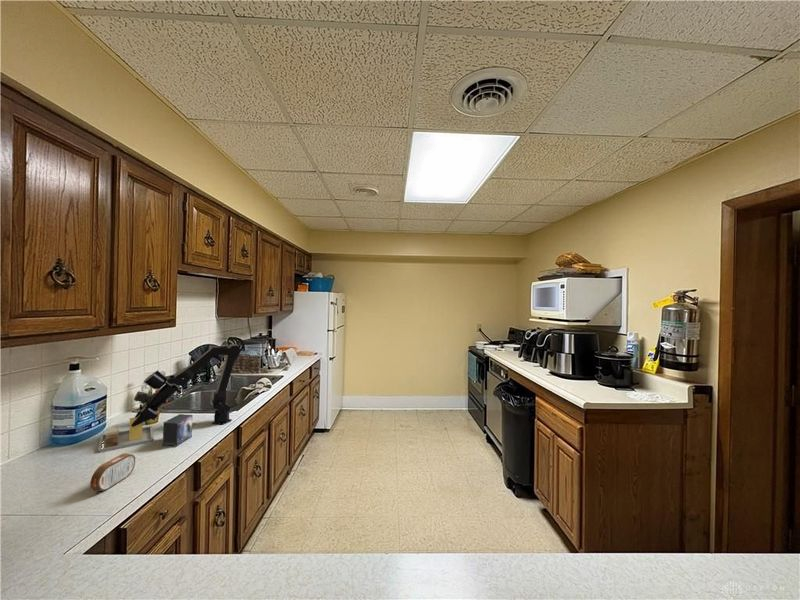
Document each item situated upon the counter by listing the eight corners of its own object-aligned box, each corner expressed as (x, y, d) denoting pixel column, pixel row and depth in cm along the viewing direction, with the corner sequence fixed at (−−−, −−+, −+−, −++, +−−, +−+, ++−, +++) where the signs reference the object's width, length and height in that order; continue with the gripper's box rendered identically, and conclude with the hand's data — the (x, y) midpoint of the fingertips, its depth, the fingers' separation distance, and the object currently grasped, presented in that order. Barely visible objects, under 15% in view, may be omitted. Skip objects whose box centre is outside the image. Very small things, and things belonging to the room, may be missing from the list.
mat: (177, 420, 170) (177, 420, 170) (196, 423, 167) (196, 423, 167) (154, 429, 159) (154, 429, 159) (173, 433, 155) (174, 432, 155)
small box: (176, 447, 141) (177, 422, 141) (161, 447, 141) (162, 422, 141) (193, 437, 152) (193, 414, 151) (178, 436, 152) (179, 413, 152)
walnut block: (117, 442, 144) (117, 433, 144) (117, 446, 140) (117, 436, 140) (105, 445, 141) (106, 435, 141) (105, 448, 138) (105, 438, 138)
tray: (151, 429, 159) (151, 426, 159) (153, 442, 145) (153, 439, 145) (101, 438, 148) (101, 435, 148) (97, 453, 134) (97, 450, 134)
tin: (128, 472, 121) (129, 448, 121) (137, 472, 121) (137, 449, 121) (88, 496, 106) (89, 469, 106) (98, 496, 106) (99, 470, 106)
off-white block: (118, 437, 149) (118, 428, 149) (117, 440, 146) (117, 431, 146) (106, 439, 147) (106, 430, 147) (106, 442, 143) (106, 433, 143)
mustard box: (142, 435, 152) (142, 416, 152) (142, 438, 148) (142, 419, 148) (129, 437, 149) (129, 418, 149) (129, 440, 145) (129, 421, 145)
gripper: (146, 380, 158) (115, 408, 151) (148, 389, 143) (114, 420, 137) (166, 394, 163) (137, 421, 156) (170, 404, 148) (138, 435, 142)
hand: (131, 424), depth 148 cm, fingers closed on mustard box, 4 cm apart
